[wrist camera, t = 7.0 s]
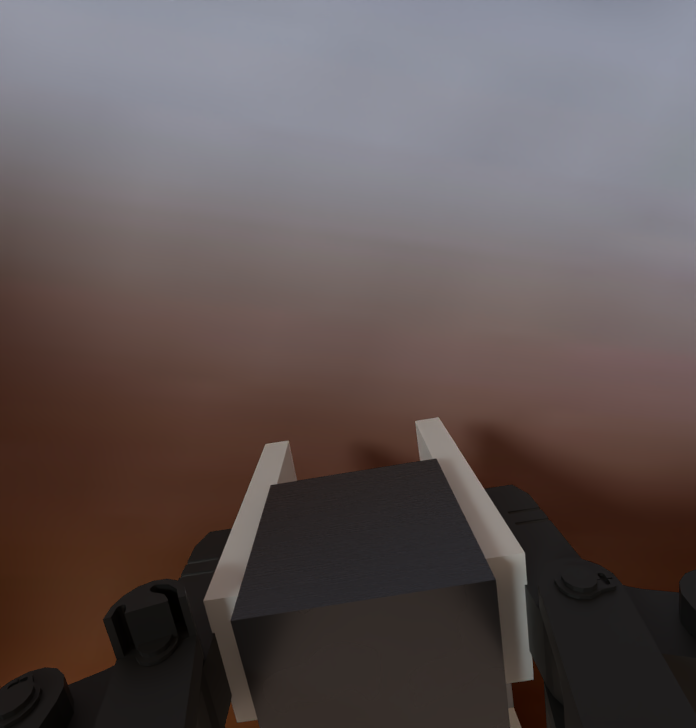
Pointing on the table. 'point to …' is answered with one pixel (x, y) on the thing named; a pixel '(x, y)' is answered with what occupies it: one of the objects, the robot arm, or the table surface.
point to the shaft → (370, 607)
